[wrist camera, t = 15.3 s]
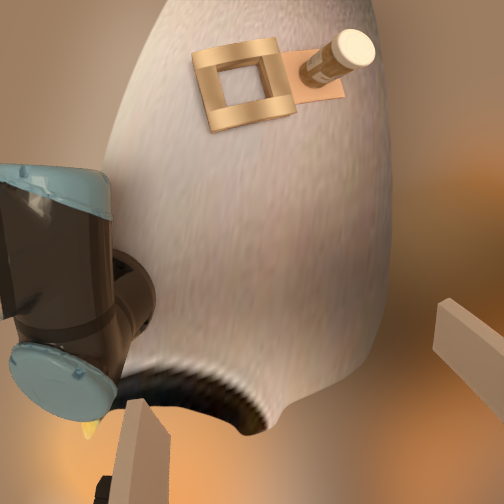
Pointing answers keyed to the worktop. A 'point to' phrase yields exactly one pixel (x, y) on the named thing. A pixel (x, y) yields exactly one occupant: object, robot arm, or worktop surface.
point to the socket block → (235, 57)
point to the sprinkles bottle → (338, 58)
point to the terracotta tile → (300, 89)
